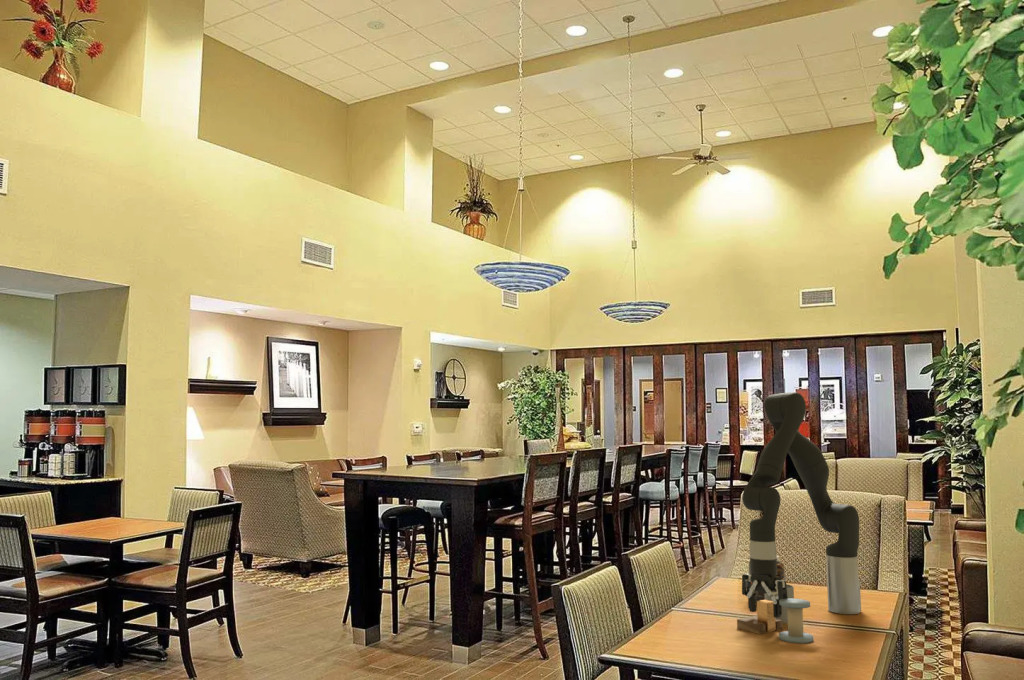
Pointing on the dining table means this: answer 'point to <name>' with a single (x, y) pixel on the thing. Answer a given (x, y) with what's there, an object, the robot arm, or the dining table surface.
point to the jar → (779, 576)
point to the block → (766, 614)
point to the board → (756, 625)
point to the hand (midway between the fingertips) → (764, 614)
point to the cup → (784, 609)
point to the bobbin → (795, 621)
